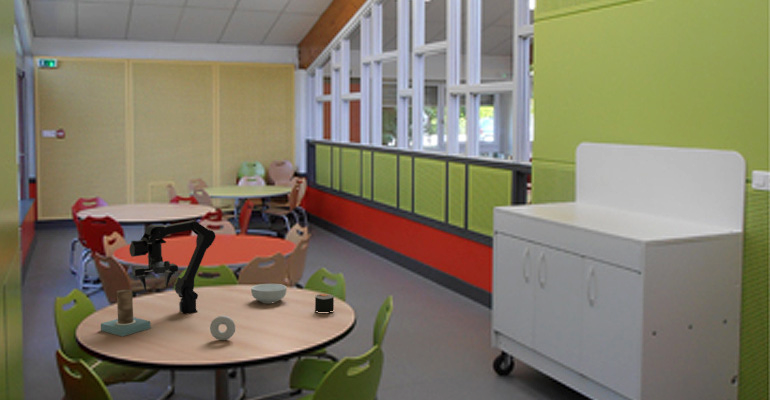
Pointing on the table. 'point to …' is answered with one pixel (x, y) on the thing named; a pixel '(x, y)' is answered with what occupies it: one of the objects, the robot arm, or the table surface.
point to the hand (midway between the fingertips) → (155, 288)
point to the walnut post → (125, 306)
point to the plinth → (125, 327)
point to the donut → (226, 321)
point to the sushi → (324, 302)
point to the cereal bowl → (268, 292)
